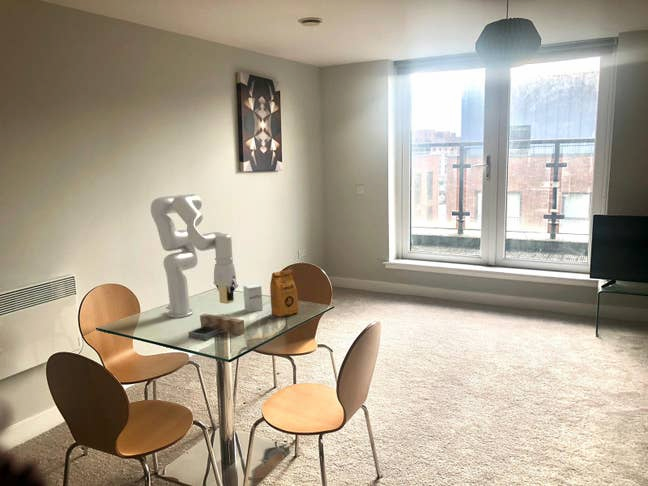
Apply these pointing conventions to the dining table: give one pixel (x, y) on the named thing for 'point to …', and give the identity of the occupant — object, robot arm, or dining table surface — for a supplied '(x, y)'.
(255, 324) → the dining table surface
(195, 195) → the robot arm
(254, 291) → the supplement box
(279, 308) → the coffee package
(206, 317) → the brown plank
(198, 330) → the grey square tray
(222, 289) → the block
